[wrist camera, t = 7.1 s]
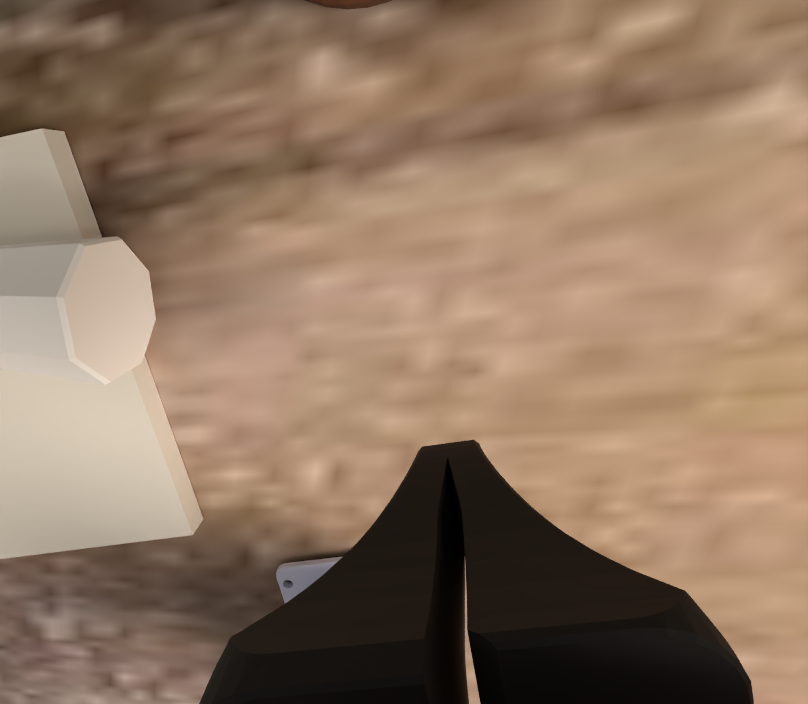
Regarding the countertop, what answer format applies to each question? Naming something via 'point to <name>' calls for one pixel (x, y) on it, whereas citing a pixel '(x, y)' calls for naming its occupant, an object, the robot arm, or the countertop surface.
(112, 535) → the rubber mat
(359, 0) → the food container
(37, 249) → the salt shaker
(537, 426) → the countertop surface
